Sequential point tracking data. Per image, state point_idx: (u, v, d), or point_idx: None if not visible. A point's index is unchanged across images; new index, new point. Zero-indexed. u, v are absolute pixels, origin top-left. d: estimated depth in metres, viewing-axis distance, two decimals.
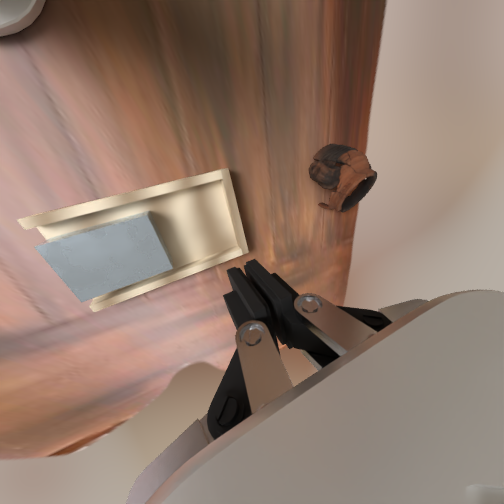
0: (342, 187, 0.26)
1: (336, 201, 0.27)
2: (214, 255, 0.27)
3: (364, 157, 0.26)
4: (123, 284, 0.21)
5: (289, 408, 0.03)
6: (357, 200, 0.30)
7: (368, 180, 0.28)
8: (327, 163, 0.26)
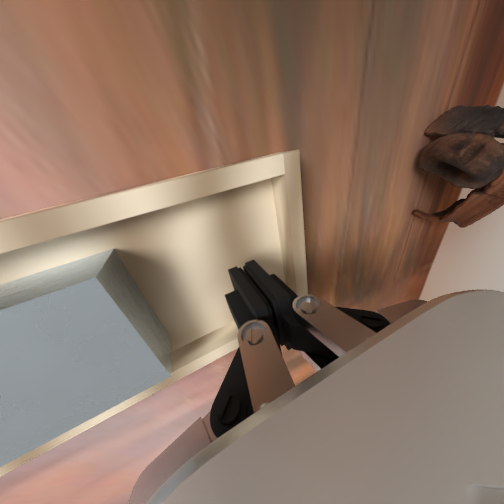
0: (503, 184, 0.13)
1: (477, 211, 0.15)
2: None
3: None
4: (47, 437, 0.09)
5: (289, 408, 0.03)
6: None
7: None
8: None
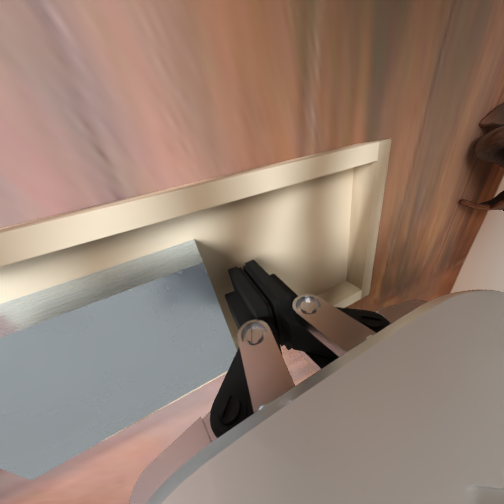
0: None
1: None
2: None
3: None
4: (136, 417, 0.09)
5: (289, 408, 0.03)
6: None
7: None
8: None
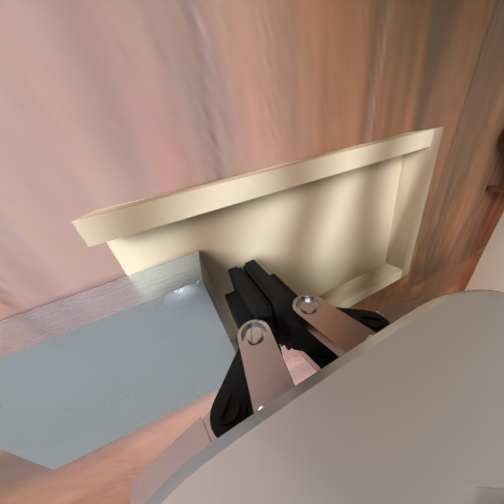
0: None
1: None
2: (360, 280, 0.17)
3: None
4: (144, 421, 0.09)
5: (289, 408, 0.03)
6: None
7: None
8: None
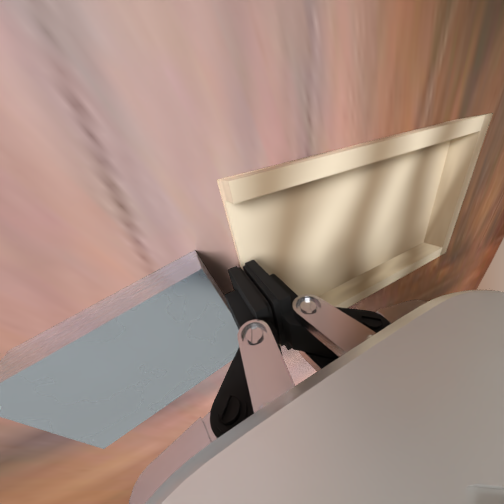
0: None
1: None
2: (403, 257, 0.18)
3: None
4: (172, 397, 0.11)
5: (289, 408, 0.03)
6: None
7: None
8: None
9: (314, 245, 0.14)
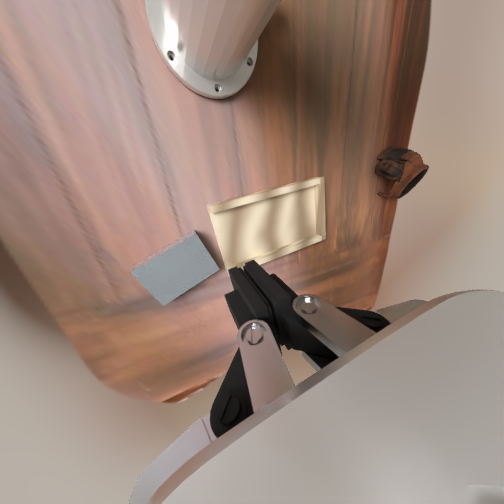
0: (404, 177, 0.36)
1: (398, 189, 0.37)
2: (302, 240, 0.36)
3: (419, 156, 0.36)
4: (188, 288, 0.28)
5: (289, 408, 0.03)
6: (409, 189, 0.40)
7: (420, 173, 0.38)
8: (392, 161, 0.36)
9: (249, 231, 0.32)
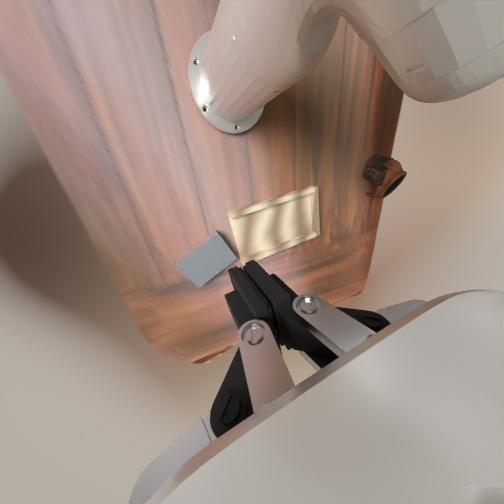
0: (386, 182, 0.44)
1: (381, 191, 0.45)
2: (300, 236, 0.45)
3: (399, 163, 0.43)
4: (215, 274, 0.38)
5: (289, 408, 0.03)
6: (392, 190, 0.48)
7: (400, 177, 0.46)
8: (376, 168, 0.44)
9: (258, 230, 0.41)
